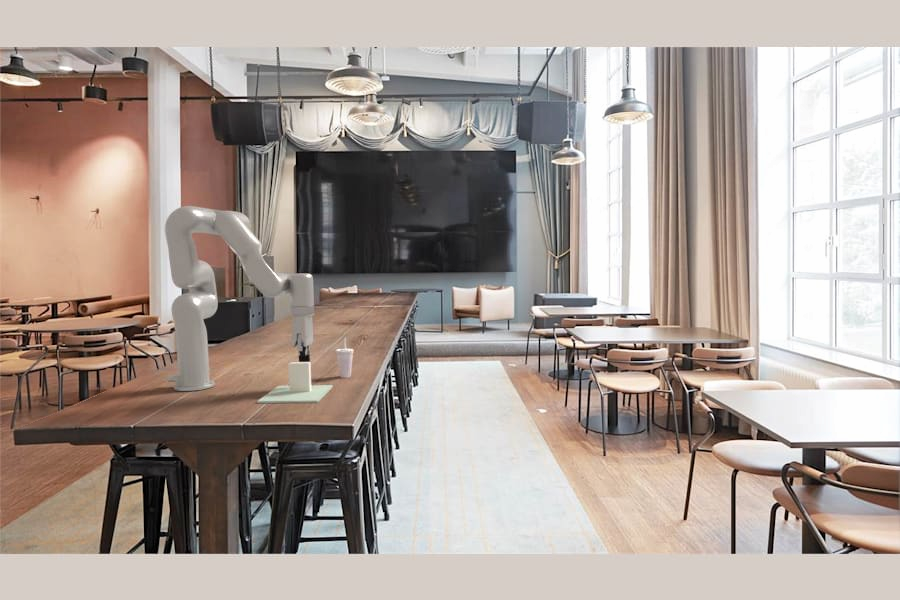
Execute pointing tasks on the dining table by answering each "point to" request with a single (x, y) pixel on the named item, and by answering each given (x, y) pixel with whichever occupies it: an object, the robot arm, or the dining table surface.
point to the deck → (299, 376)
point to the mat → (295, 395)
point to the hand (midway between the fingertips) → (304, 366)
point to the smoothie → (345, 361)
